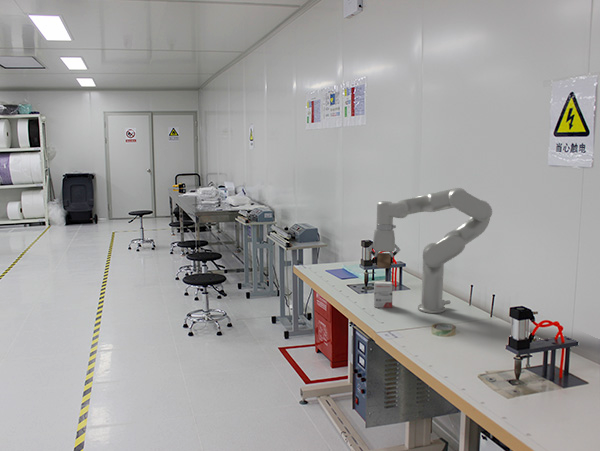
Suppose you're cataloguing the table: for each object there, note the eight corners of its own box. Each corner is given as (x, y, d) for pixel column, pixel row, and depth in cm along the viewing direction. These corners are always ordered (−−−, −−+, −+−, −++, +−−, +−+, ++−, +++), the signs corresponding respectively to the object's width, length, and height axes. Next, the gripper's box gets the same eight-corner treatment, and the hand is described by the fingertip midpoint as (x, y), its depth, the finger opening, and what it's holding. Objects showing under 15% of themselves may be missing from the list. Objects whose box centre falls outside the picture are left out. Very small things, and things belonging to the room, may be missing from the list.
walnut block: (389, 265, 259) (389, 253, 258) (390, 267, 253) (390, 255, 252) (376, 264, 259) (376, 252, 258) (377, 267, 253) (377, 255, 252)
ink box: (391, 305, 261) (392, 281, 259) (392, 307, 256) (392, 283, 254) (373, 304, 262) (374, 280, 260) (373, 307, 257) (374, 283, 255)
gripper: (402, 226, 256) (400, 263, 259) (365, 226, 258) (364, 262, 260) (403, 229, 249) (402, 267, 251) (366, 228, 250) (365, 266, 253)
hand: (383, 264), depth 256 cm, fingers closed on walnut block, 6 cm apart
